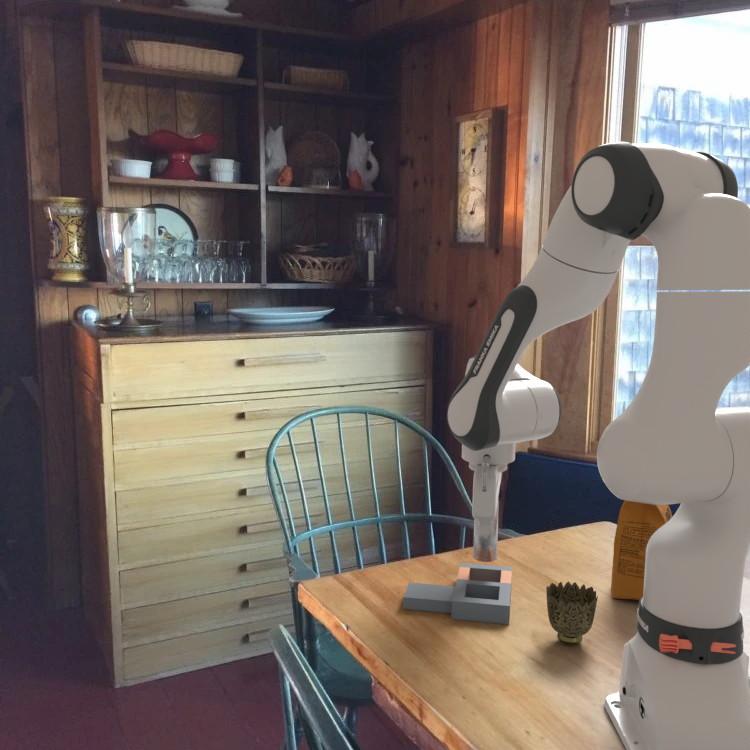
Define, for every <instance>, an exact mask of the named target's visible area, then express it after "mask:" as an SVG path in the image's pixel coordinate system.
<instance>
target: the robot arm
mask: <svg viewBox="0 0 750 750" xmlns="http://www.w3.org/2000/svg"><path fill="white" fill-rule="evenodd" d="M738 196H739V186H738V181H737V177H736V175H735V173H734V171H733V169H732V168H731V167H730V165H728V164H727V163H726V162H725V161H723V160H722V159H720V158H718V157H716V156H714V155H712V154H709V153H707V152H703V151H691V150H687V149H683V148H678V147H673V146H671V145H668V144H661V143H645V142H644V143H643V142H642V143H631V142H627V141H615V142H610V143H605V144H602V145H601V144H600V145H598V146H595V147H593V148H592V149H590V150H589V151H587V152H586V153H585V154H584V156H582V158H581V159H580V160H579V162H578V164H577V165H576V168H575V171H574V173H573V177H572V180H571V185H570V186H569V188H568V189H567V191H566V193H565V195H564V196H563V198H562V199H561V201H560V203H559V205H558V207H557V209H556V211H555V213H554V215H553V217H552V220H551V221H550V224H549V227H548V228H547V231H546V234H545V237H544V239H543V242H542V245H541V248H540V251H539V253H538V254H537V257H536V259H535V261H534V262H533V264H532V266H531V268H530V269H529V271H528V272H527V274H526V275H525V277H524V278H523V279H522V280H521V281H520V283H519V284H518V285H517V286H515V288H513V289H512V290H511V291H510V292H509V293H508V294H507V296H506V297H505V298H504V299H503V301H502V302H501V304H500V306H499V308H498V310H497V312H496V314H495V315H494V317H493V319H492V321H491V324H490V325H489V328H488V330H487V332H486V334H485V336H484V338H483V341H482V343H481V344H480V346H479V349H478V350H477V353H476V354H475V355H473V356H472V357H471V358H469V359H468V362H467V364H466V369H465V374H464V377H463V379H462V380H461V382H460V383H459V385H458V386H457V387H456V389H455V390H454V392H453V393H452V395H451V397H450V399H449V402H448V405H447V408H446V423H447V426H448V429H449V431H450V433H451V434H452V435H453V436H454V437H453V438H455V439H456V440H457V441H458V442H459V443H460V444H461V459H462V460H464V461H466V462H468V468H469V469H470V470H471V471H474V472H473V483H472V484H473V485H472V501H471V502H472V505H471V508H472V509H471V511H472V512H471V513H472V514H471V515H472V518H473V519H474V518H475V519H479V523H480V534H481V535H487V536H488V535H490V533H491V520H494V519H495V516H496V509H497V502H498V500H499V495H500V488H501V487H500V486H501V483H502V482H501V481H502V477H503V472H505V471H507V469H508V465H509V464H511V463H513V462H514V461H515V460H516V446H517V444H516V443H523V442H528V441H535V440H541V439H544V438H547V437H550V436H552V435H553V434H554V433H555V432H556V431H557V429H558V427H559V425H560V422H561V419H562V413H563V411H562V408H563V407H562V401H561V397H560V394H559V393H558V390H557V389H556V388H555V387H554V385H552V384H551V383H550V382H548V380H546V379H540V378H538V377H536V376H535V375H534V374H531V373H529V372H528V371H527V370H526V369H524V368H523V367H522V366H521V365H520V364H519V361H520V360H521V358H522V355H523V354H524V352H525V351H526V349H527V348H528V347H529V346H530V345H531V344H532V343H534V342H535V340H537V339H538V338H540V337H542V336H544V335H545V334H547V333H549V332H551V331H553V330H555V329H558V328H559V327H562V326H564V325H567V324H570V323H572V322H575V321H578V320H581V319H583V318H585V317H587V316H590V315H591V314H592V313H594V312H595V311H597V310H598V309H599V308H600V306H601V305H602V304H603V303H604V302H605V300H606V299H607V297H608V295H609V294H610V292H611V290H612V288H613V286H614V283H615V281H616V278H617V275H618V273H619V271H620V268H621V265H622V264H623V259H624V257H625V255H626V252H627V249H628V247H629V245H630V243H631V241H634V240H636V239H637V238H639V237H641V236H642V237H644V238H646V239H647V240H648V241H649V242H651V244H652V245H653V247H654V248H655V251H656V255H657V265H658V266H657V275H656V276H657V279H656V299H655V300H656V302H655V303H656V304H655V320H654V321H655V322H654V323H655V324H654V332H653V333H654V335H653V346H652V353H651V357H650V362H649V365H648V368H647V371H646V373H645V376H644V379H643V381H642V384H640V386H639V390H638V391H637V392H636V394H635V396H634V397H633V399H632V401H630V404H628V406H627V407H626V408H625V409H624V410H623V411H622V412H621V414H620V415H618V416H617V417H615V419H613V420H612V421H611V422H610V423H608V425H607V426H606V427H605V429H604V430H603V432H602V433H601V437H600V438H599V441H598V444H597V450H596V464H597V468H598V472H599V474H600V478H601V479H602V481H603V483H604V484H605V486H606V487H607V488H608V490H609V491H610V492H611V493H612V494H613V495H614V496H615V497H616V498H618V499H620V500H622V501H625V500H626V501H632V502H638V503H645V504H654V505H667V504H668V505H675V504H680V505H679V507H678V508H677V510H676V511H675V513H674V515H672V518H671V519H670V520H669V521H668V522H667V523H666V524H664V525H663V526H662V527H660V528H659V529H658V530H657V531H656V532H655V533H654V534H653V535H652V536H651V538H650V539H649V541H648V544H647V547H646V556H645V572H644V590H643V597H642V598H641V599H640V601H639V600H638V608H637V613H636V618H637V625H636V626H637V633H636V634H635V635H634V636H633V637H632V638H630V640H628V641H627V642H626V643H625V644H624V645H623V648H622V649H623V651H622V657H621V658H622V659H621V660H622V661H621V670H620V680H619V690H618V692H614V693H611V694H609V695H606V697H605V698H604V699H605V700H604V705H603V707H604V709H605V710H606V712H607V714H608V716H609V718H610V720H611V723H612V724H613V727H614V728H615V730H616V732H617V734H618V736H619V739H621V742H622V744H623V746H624V747H625V750H750V676H749V666H750V665H749V664H750V663H749V662H750V656H749V655H748V654H747V653H746V652H745V651H744V638H745V628H744V621H743V615H742V613H741V600H742V590H743V583H744V574H745V569H746V562H747V558H748V554H749V549H750V406H745V405H744V406H743V405H742V406H741V405H739V406H724V407H723V406H720V407H718V405H719V403H720V400H721V397H722V395H723V393H724V391H725V389H726V388H727V387H728V385H729V384H730V382H732V380H734V378H735V377H737V376H738V375H740V373H743V372H744V371H745V370H746V369H747V368H749V366H750V206H748V205H747V204H746V203H745V201H743V200H742V199H740V198H738ZM733 290H734V291H733ZM742 290H743V291H742Z"/></svg>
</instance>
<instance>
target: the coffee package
mask: <svg viewBox="0 0 750 750" xmlns="http://www.w3.org/2000/svg"><path fill="white" fill-rule="evenodd" d="M672 517H673V515H672V510H671V508H670V505H669V504H667V505H654V504H645V503H638V502H632V501H626V500H623V503H622V505H621V507H620V510H619V513H618V518H617V525H616V530H615V534H614V540H613V555H612V556H613V557H612V558H613V559H612V570H611V579H610V580H611V581H610V582H611V584H610V594H611V597H613V598H614V599H617V600H620V599H623V600H636V601H638V602H639V601H640V599H641V598H642V597H643V590H644V572H645V556H646V547H647V544H648V541H649V539H650V538H651V536H652V535H653V534H654V533H655V532H656V531H657V530H658V529H659V528H660V527H662V526H663V525H664V524H666V523H667V522H668V521H669V520H670V519H671V518H672Z"/></svg>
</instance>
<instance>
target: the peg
mask: <svg viewBox="0 0 750 750" xmlns="http://www.w3.org/2000/svg"><path fill="white" fill-rule="evenodd" d="M499 503H500V502H499V499H498V502H497V509H496V516H495V519H494V520H491V533H490V535H488V536H487V535H481V534H480V523H479V519H475V518H473V551H472V553H473V555H472V556H473V559H474V560H475V561H478V562H484V563H491V562H495V561H497V560H498V539H499V538H498V537H499V536H498V535H499V510H500V509H499V505H500V504H499Z"/></svg>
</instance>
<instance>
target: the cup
mask: <svg viewBox="0 0 750 750" xmlns="http://www.w3.org/2000/svg"><path fill="white" fill-rule="evenodd" d="M545 590H546V605H547V606H546V607H547V616H548V617H547V618H548V621H549V624H550V626H551V628H552V629H553V630H554V631H555V632H556V633H557V634H556V636H557V637H556V638H557V640H558V642H559V643H560V644H562V645H564V646H569V647H575V646H579V645H580V644H581V643H582V642H583V638H584V637H583V636H584V635H586V634H588V632H589V631H590V630H591V628H592V626H593V623H594V620H595V615H596V609H597V605H598V598H599V596H598V595H597V591H596V590H595V591H594V588H593V586H590V587H587V588H586V585H585V584H584V583H583V584H582V585H581V587H579V585H578V584H577V582H576V581H573V583H571V582H570V581H567V582H566V583H565V584H564V585H563V582H562V581H560V582H558V585H556V584H555V583H554V582H551V583H550V584H549V586H546V589H545Z"/></svg>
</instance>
